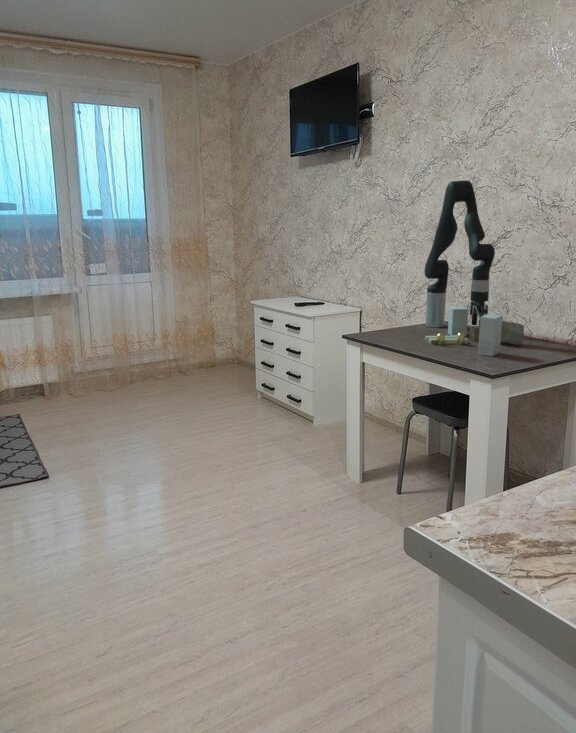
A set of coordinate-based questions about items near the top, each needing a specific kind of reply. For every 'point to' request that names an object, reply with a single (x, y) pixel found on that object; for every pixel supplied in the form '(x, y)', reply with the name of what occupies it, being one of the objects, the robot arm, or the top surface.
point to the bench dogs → (442, 336)
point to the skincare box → (490, 334)
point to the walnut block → (474, 333)
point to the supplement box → (457, 320)
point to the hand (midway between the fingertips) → (477, 326)
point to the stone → (512, 333)
